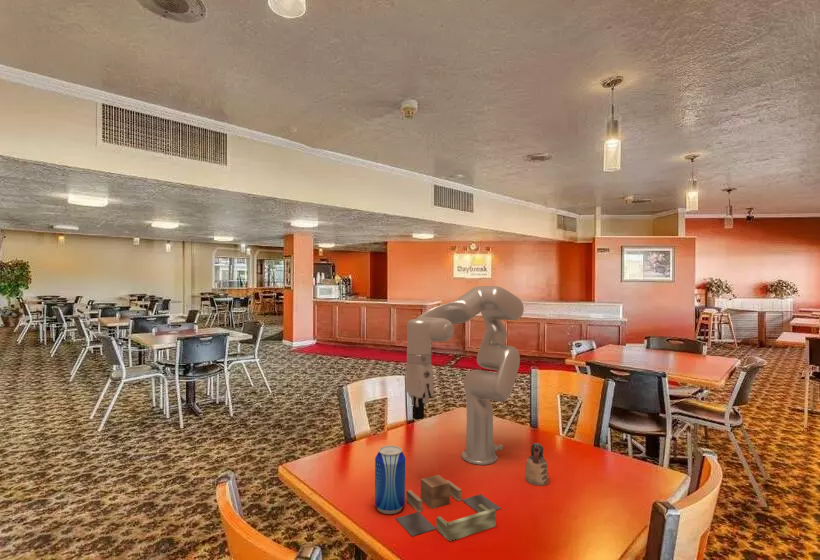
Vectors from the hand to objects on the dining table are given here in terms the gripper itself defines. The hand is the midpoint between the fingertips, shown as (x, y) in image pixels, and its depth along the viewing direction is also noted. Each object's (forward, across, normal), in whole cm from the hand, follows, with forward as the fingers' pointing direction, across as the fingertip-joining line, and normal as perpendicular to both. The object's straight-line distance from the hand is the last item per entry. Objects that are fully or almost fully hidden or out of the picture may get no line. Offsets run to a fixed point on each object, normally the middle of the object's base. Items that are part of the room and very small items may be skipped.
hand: (418, 418), depth 130 cm
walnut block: (+21, -10, 0) cm, 23 cm away
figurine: (+21, -14, -36) cm, 44 cm away
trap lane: (+21, -18, 0) cm, 27 cm away
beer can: (+21, -7, +13) cm, 26 cm away
